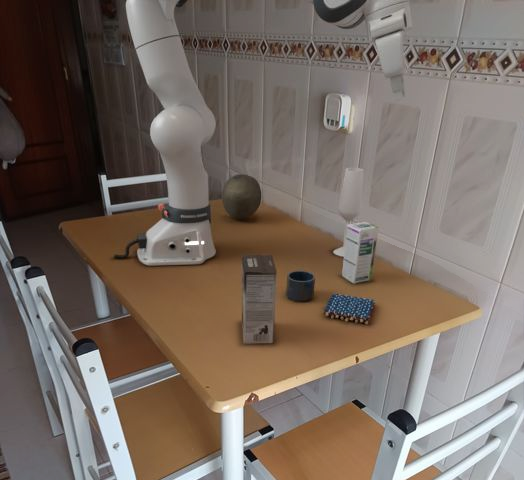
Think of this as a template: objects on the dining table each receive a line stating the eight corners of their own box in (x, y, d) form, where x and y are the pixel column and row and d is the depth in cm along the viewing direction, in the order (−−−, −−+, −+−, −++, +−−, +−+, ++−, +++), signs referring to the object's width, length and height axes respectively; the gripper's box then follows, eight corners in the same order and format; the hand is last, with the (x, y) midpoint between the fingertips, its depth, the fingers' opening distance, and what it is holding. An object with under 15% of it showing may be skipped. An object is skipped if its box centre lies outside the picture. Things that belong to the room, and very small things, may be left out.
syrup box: (353, 284, 128) (361, 230, 120) (340, 275, 133) (347, 223, 125) (371, 280, 130) (379, 227, 123) (357, 272, 135) (365, 220, 127)
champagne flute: (344, 258, 144) (354, 173, 131) (328, 251, 148) (337, 168, 136) (360, 253, 147) (372, 170, 134) (344, 247, 152) (354, 165, 139)
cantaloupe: (213, 218, 173) (212, 174, 165) (243, 211, 181) (244, 168, 173) (239, 228, 164) (239, 182, 156) (270, 220, 172) (271, 176, 164)
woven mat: (369, 326, 109) (370, 318, 108) (322, 317, 112) (323, 309, 111) (375, 306, 118) (376, 298, 116) (332, 299, 120) (332, 291, 119)
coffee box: (240, 323, 109) (241, 253, 100) (269, 322, 109) (272, 253, 101) (242, 344, 101) (243, 271, 92) (274, 343, 102) (277, 271, 93)
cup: (292, 304, 117) (293, 283, 115) (282, 292, 123) (283, 272, 120) (317, 300, 119) (319, 280, 117) (306, 289, 125) (308, 269, 122)
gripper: (377, 34, 110) (388, 100, 116) (369, 28, 93) (381, 106, 99) (406, 24, 108) (415, 92, 114) (403, 16, 91) (414, 96, 97)
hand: (400, 99), depth 106 cm, fingers open, 8 cm apart
